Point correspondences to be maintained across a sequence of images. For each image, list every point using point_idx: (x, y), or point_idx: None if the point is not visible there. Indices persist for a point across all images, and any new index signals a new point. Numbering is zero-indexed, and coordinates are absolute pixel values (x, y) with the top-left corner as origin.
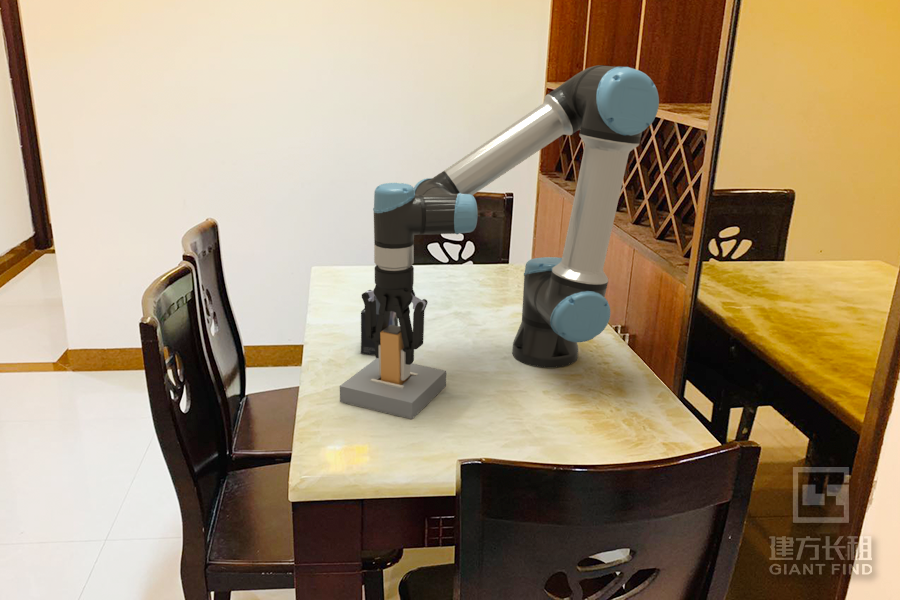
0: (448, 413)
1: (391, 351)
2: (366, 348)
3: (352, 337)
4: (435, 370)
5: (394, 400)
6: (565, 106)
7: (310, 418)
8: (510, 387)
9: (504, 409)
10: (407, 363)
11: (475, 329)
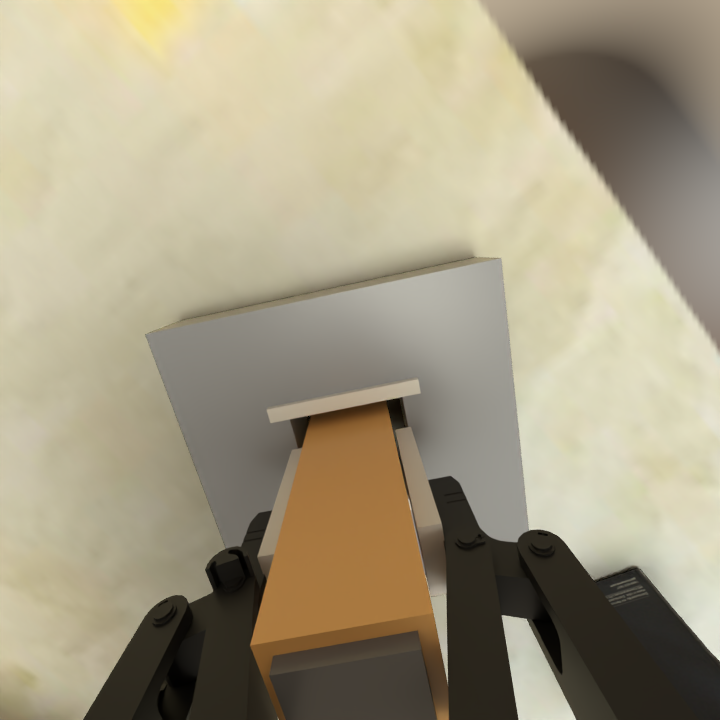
0: (123, 426)
1: (329, 516)
2: (633, 593)
3: None
4: None
5: (227, 315)
6: None
7: (485, 69)
8: (114, 648)
9: (24, 543)
10: (270, 514)
11: None
